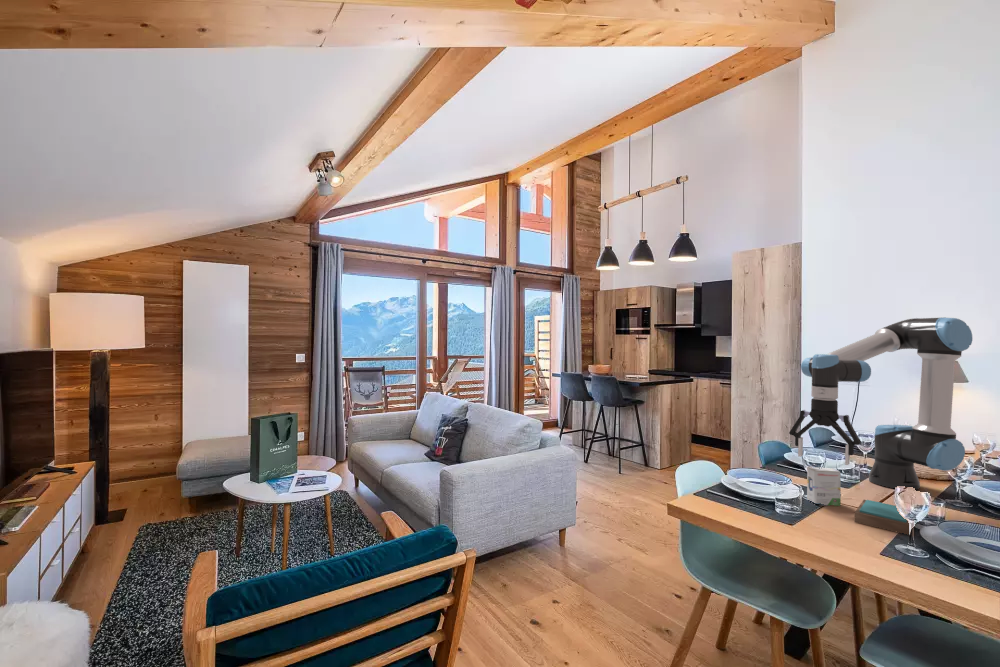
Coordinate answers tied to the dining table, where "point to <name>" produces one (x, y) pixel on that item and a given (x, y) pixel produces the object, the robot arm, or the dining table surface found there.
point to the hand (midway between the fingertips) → (823, 460)
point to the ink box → (824, 486)
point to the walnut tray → (881, 516)
